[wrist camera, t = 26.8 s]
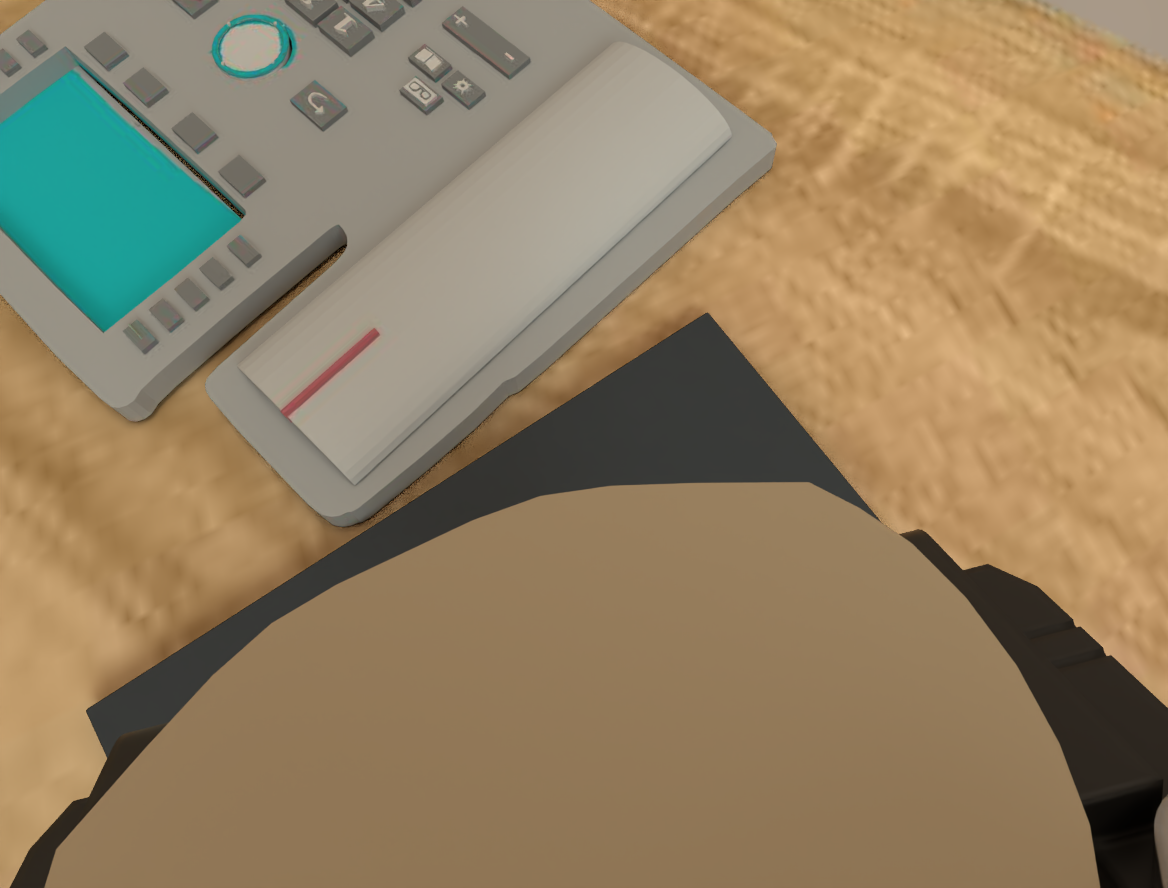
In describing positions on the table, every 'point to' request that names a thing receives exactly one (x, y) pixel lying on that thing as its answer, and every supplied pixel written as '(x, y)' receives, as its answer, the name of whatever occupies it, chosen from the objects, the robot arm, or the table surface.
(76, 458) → the table surface
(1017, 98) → the table surface
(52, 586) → the table surface
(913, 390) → the table surface
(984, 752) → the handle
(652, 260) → the office telephone
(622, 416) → the mat
